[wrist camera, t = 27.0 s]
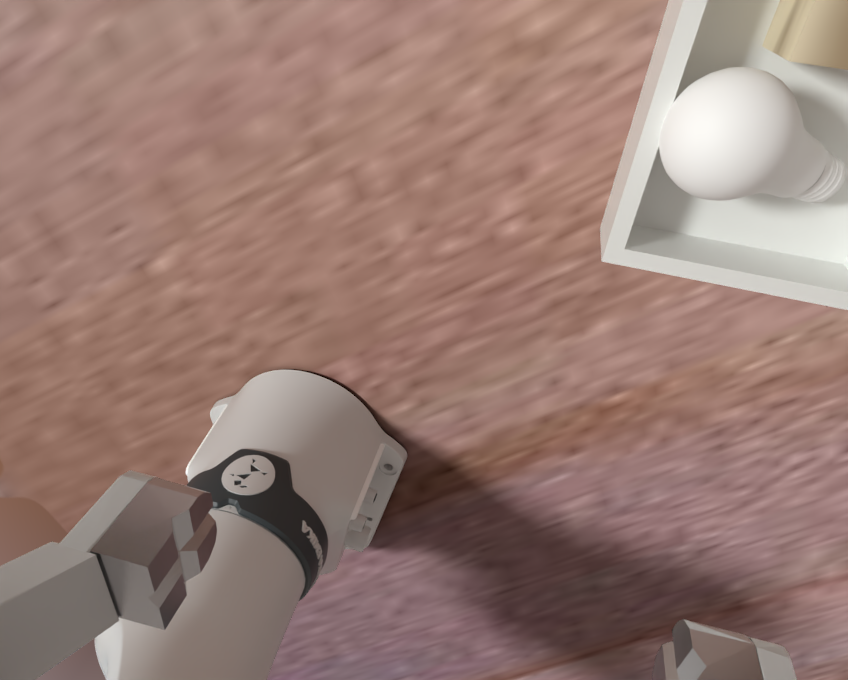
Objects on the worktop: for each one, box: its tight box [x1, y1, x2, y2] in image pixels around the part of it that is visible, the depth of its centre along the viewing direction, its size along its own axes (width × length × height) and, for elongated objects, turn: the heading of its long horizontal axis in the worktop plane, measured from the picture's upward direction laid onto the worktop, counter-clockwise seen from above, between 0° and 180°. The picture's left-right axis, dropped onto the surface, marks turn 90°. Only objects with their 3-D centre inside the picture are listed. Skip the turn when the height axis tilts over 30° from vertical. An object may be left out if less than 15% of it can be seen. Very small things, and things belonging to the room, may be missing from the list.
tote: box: [600, 0, 848, 310], centre depth 29 cm, size 19×15×5 cm
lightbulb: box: [659, 67, 846, 203], centre depth 29 cm, size 6×6×11 cm
